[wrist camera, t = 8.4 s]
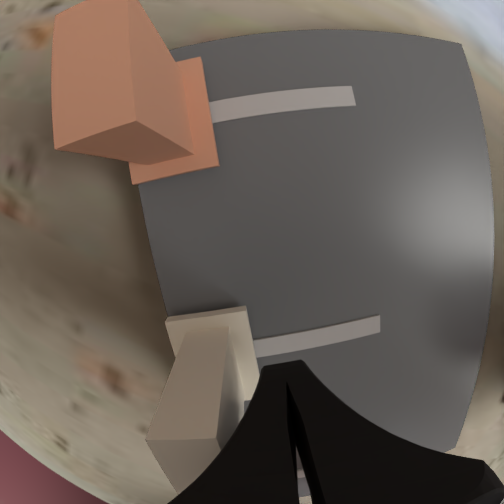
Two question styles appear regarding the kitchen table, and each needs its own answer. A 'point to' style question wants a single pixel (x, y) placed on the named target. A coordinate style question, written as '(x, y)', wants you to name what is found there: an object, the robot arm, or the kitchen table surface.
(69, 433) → the kitchen table surface
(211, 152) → the terracotta paddle
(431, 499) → the robot arm
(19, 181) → the kitchen table surface
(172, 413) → the cream upright block
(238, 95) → the switch panel
